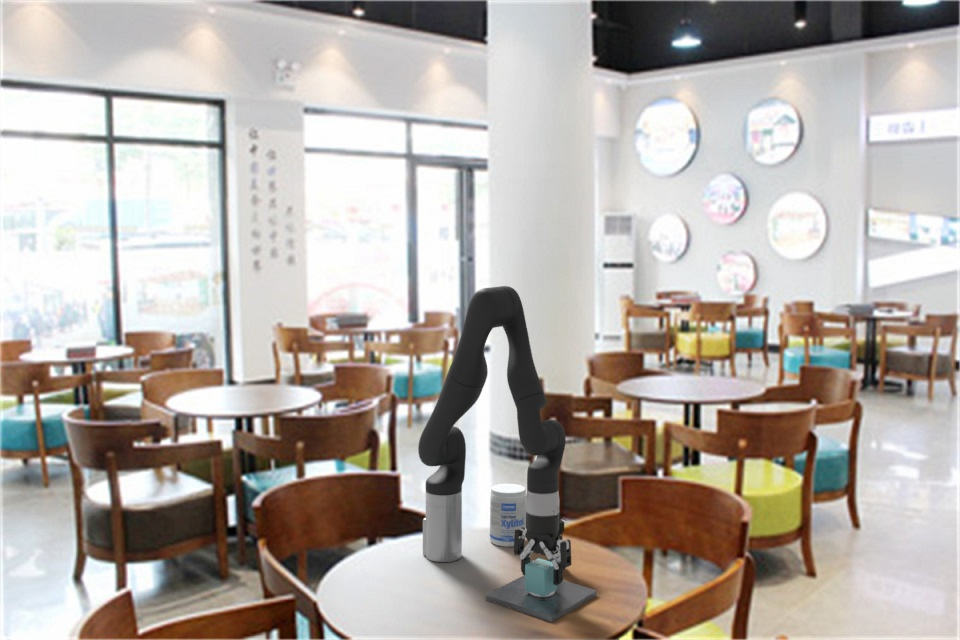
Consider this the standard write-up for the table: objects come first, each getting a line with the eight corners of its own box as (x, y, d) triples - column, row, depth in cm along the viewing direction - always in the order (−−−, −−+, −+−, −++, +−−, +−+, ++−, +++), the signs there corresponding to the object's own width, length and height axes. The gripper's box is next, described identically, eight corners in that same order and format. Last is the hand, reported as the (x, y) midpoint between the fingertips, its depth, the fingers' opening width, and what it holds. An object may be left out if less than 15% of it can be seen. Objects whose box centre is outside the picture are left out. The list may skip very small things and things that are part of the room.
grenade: (565, 576, 209) (566, 515, 207) (540, 575, 209) (541, 514, 208) (565, 566, 215) (566, 507, 214) (541, 565, 216) (542, 506, 215)
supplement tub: (503, 550, 226) (504, 495, 225) (482, 540, 234) (482, 486, 232) (532, 543, 232) (533, 489, 230) (511, 533, 239) (511, 481, 238)
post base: (485, 599, 195) (485, 572, 195) (532, 575, 209) (532, 550, 208) (551, 622, 184) (552, 593, 183) (596, 595, 198) (597, 568, 197)
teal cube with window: (525, 590, 196) (525, 563, 195) (538, 583, 200) (538, 556, 199) (543, 596, 193) (544, 568, 192) (557, 589, 197) (557, 562, 196)
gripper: (507, 507, 196) (506, 576, 198) (559, 520, 187) (558, 592, 189) (526, 499, 202) (526, 566, 203) (578, 511, 193) (577, 582, 194)
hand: (541, 579), depth 196 cm, fingers open, 8 cm apart
